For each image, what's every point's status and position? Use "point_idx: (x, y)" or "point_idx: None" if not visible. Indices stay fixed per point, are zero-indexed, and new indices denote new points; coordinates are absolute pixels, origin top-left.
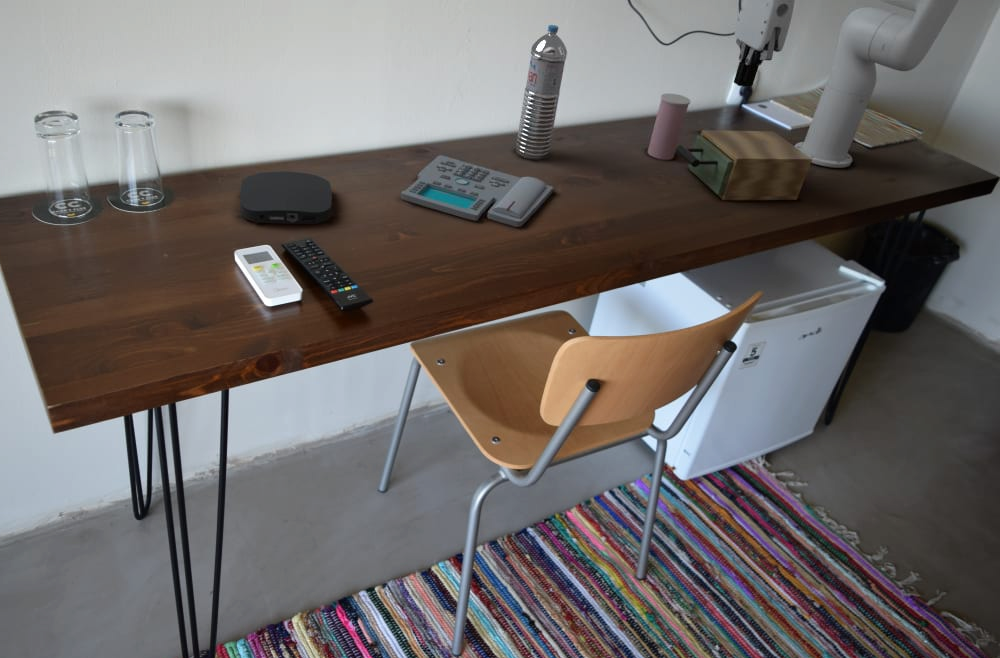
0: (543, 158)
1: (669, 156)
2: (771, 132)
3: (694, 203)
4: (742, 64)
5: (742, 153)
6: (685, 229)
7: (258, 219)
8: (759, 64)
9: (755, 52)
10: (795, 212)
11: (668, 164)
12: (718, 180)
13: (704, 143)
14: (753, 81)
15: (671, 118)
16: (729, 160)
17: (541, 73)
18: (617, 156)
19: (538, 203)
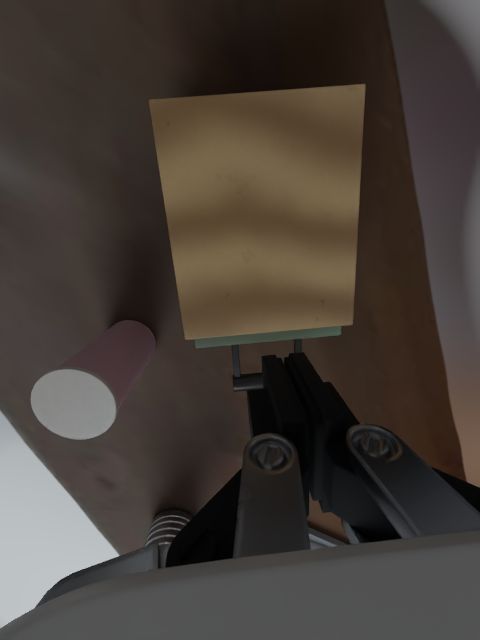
0: (190, 515)
1: (152, 338)
2: (161, 114)
3: (327, 354)
4: (322, 505)
5: (325, 298)
6: (402, 396)
7: None
8: (388, 442)
9: (301, 505)
10: (372, 171)
11: (176, 343)
12: None
13: (234, 343)
14: (307, 360)
15: (128, 392)
16: (334, 330)
17: None
18: (157, 417)
19: (336, 545)
